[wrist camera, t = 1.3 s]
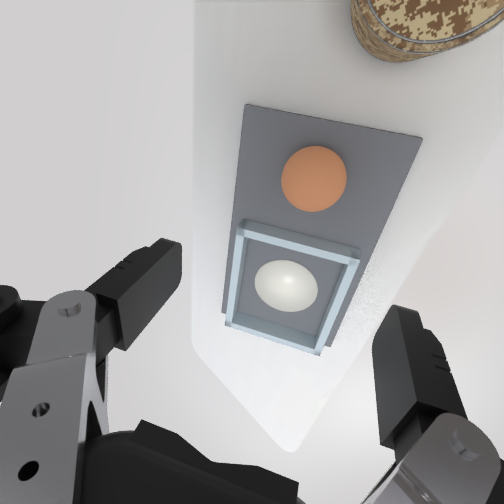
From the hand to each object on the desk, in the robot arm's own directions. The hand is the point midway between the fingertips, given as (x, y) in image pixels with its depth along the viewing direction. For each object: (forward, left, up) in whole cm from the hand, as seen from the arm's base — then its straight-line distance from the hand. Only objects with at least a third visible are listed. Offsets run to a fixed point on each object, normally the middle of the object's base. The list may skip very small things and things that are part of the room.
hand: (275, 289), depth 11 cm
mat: (+8, 0, -17) cm, 19 cm away
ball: (0, 0, -17) cm, 17 cm away
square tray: (+13, 0, -17) cm, 21 cm away
